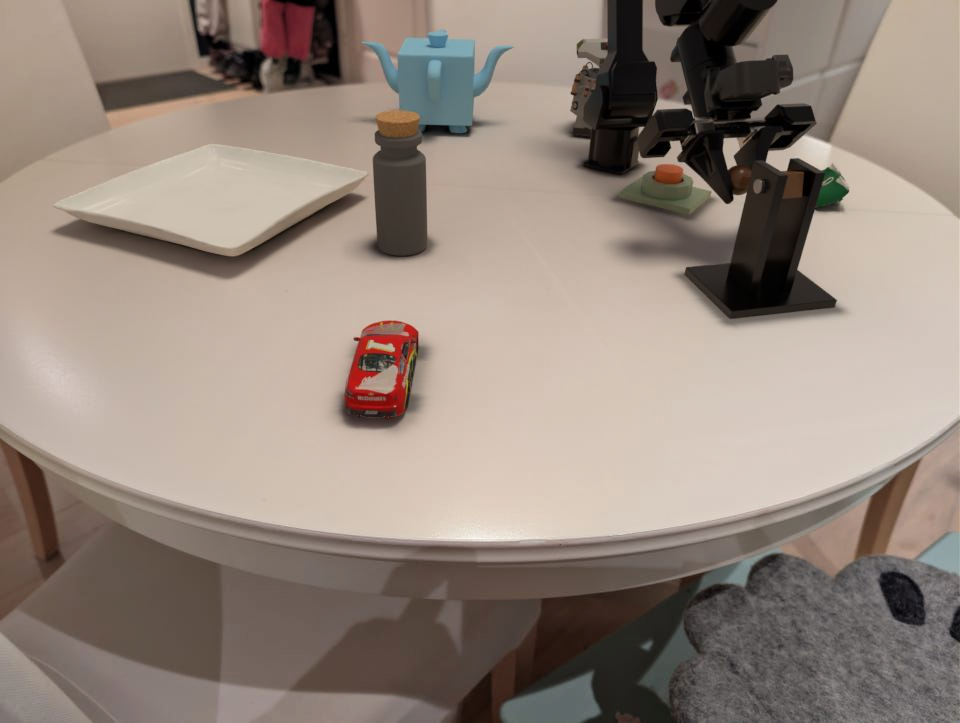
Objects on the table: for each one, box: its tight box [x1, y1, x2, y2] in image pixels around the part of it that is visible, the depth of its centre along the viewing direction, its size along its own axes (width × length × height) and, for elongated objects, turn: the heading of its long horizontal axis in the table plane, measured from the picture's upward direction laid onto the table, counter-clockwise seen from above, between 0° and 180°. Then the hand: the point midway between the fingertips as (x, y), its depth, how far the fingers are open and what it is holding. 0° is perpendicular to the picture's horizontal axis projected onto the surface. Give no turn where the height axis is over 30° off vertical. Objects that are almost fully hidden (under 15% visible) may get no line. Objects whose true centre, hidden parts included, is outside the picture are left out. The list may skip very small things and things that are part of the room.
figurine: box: [569, 37, 608, 139], centre depth 123 cm, size 9×12×15 cm
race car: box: [344, 319, 419, 419], centre depth 63 cm, size 13×5×4 cm, turn 177°
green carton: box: [815, 162, 850, 209], centre depth 101 cm, size 9×4×6 cm
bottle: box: [372, 109, 428, 257], centre depth 83 cm, size 6×6×15 cm
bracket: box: [684, 157, 838, 320], centre depth 75 cm, size 10×12×14 cm
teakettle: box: [361, 29, 515, 134], centre depth 125 cm, size 19×19×15 cm
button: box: [654, 163, 684, 184], centre depth 99 cm, size 4×4×2 cm
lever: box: [728, 164, 804, 199], centre depth 76 cm, size 11×3×3 cm, turn 14°
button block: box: [618, 170, 712, 216], centre depth 100 cm, size 10×8×3 cm
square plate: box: [53, 143, 369, 257], centre depth 93 cm, size 27×27×4 cm
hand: (743, 201), depth 79 cm, fingers closed on lever, 3 cm apart
